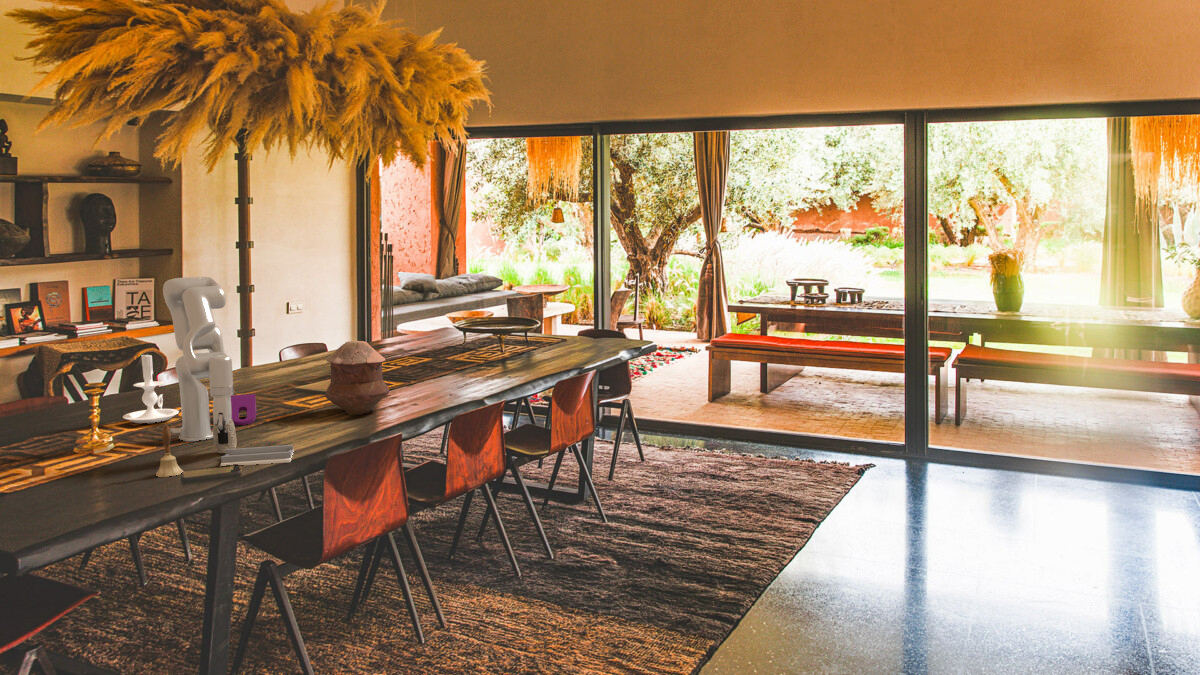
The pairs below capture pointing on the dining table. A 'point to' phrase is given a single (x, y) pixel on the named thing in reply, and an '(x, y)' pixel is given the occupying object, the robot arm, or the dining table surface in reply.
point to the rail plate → (258, 455)
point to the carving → (231, 437)
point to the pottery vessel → (356, 378)
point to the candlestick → (150, 398)
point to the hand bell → (168, 458)
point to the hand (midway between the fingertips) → (224, 440)
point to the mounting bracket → (243, 408)
